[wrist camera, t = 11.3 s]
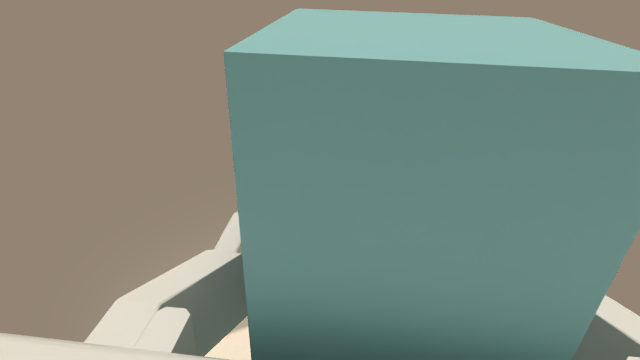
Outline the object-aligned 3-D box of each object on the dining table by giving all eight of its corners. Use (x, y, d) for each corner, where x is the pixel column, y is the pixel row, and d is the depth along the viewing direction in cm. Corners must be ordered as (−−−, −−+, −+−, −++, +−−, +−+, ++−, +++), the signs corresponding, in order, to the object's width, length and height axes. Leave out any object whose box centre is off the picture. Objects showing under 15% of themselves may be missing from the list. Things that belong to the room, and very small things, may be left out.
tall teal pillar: (269, 554, 10) (223, 50, 4) (298, 384, 14) (296, 8, 8) (455, 584, 9) (718, 76, 3) (430, 400, 13) (532, 17, 7)
